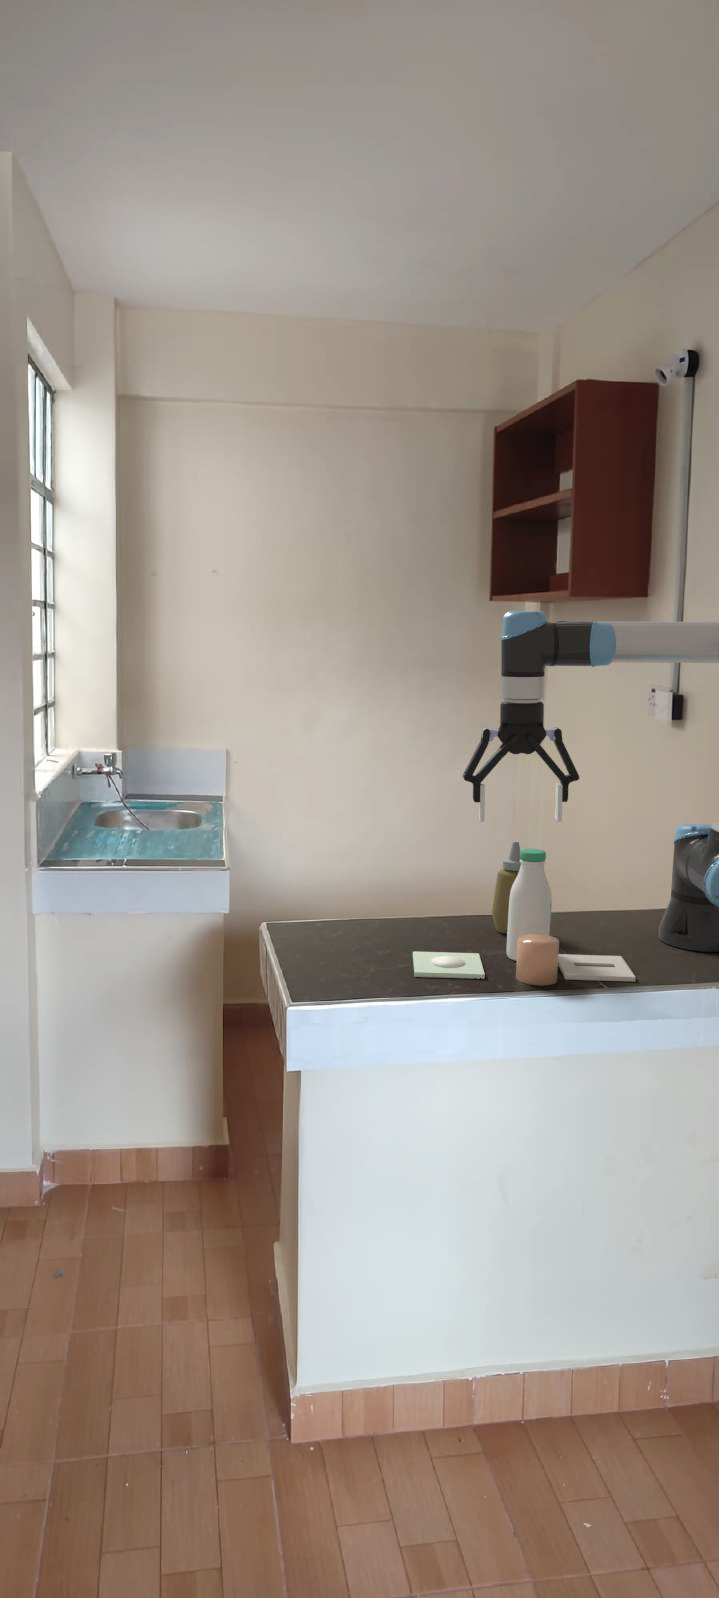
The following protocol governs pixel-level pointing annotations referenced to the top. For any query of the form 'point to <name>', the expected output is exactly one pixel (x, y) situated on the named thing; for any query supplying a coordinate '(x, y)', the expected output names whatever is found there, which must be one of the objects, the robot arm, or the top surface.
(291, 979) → the top surface
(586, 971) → the tile
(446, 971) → the tile
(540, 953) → the rounded peach cylinder
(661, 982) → the top surface
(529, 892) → the milk bottle
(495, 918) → the squeeze bottle
